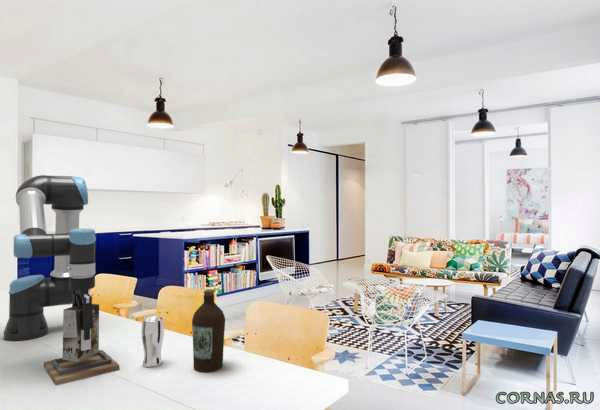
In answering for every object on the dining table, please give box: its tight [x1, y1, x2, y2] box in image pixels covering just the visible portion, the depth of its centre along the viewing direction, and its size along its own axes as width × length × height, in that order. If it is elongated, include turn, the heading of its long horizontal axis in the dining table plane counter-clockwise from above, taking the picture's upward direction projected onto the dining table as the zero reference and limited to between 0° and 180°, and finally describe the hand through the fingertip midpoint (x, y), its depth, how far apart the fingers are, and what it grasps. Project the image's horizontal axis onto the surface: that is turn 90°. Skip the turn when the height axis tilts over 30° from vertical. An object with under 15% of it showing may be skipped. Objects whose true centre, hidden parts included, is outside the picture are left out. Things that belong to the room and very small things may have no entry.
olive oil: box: [191, 289, 226, 373], centre depth 138 cm, size 11×11×25 cm
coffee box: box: [61, 303, 100, 362], centre depth 135 cm, size 9×6×16 cm
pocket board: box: [43, 349, 120, 386], centre depth 135 cm, size 18×18×3 cm
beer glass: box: [141, 316, 165, 368], centre depth 140 cm, size 7×7×15 cm
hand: (81, 345), depth 135 cm, fingers closed on coffee box, 9 cm apart
